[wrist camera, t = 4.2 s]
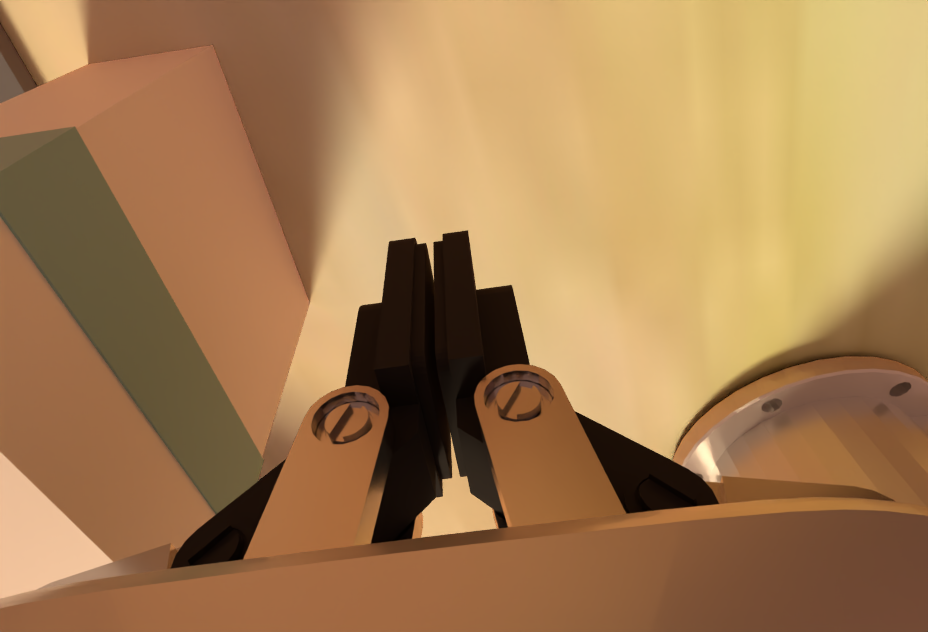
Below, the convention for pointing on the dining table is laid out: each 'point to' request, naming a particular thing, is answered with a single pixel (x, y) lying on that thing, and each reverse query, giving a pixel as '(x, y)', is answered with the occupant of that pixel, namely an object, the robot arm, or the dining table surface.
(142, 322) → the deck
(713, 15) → the dining table surface
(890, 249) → the dining table surface
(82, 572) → the robot arm
